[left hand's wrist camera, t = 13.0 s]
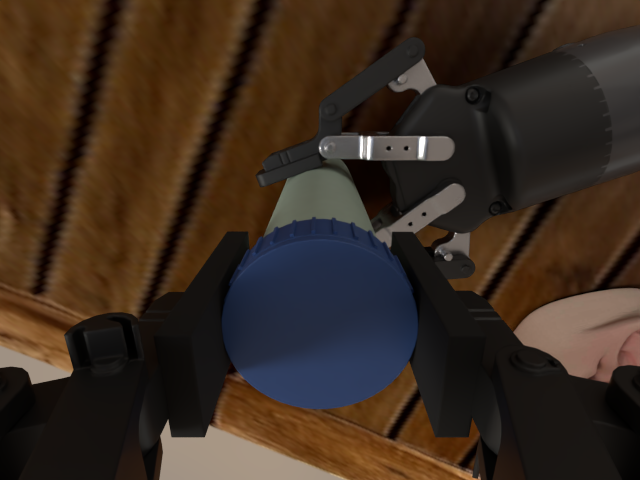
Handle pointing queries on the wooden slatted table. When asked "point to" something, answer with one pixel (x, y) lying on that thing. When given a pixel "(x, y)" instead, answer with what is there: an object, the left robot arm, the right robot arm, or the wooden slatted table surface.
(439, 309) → the left robot arm
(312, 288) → the lid
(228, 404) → the wooden slatted table surface
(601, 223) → the wooden slatted table surface
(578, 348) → the anatomical model
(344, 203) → the jar
